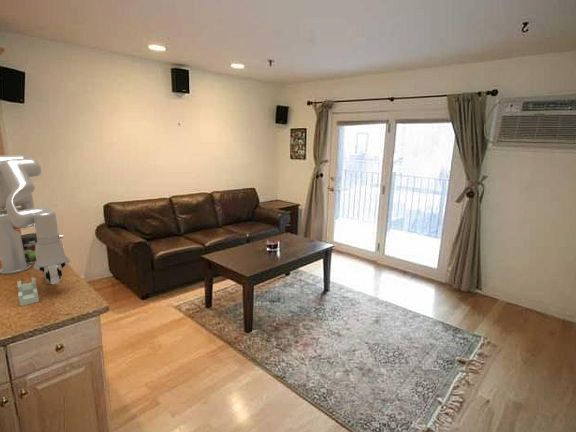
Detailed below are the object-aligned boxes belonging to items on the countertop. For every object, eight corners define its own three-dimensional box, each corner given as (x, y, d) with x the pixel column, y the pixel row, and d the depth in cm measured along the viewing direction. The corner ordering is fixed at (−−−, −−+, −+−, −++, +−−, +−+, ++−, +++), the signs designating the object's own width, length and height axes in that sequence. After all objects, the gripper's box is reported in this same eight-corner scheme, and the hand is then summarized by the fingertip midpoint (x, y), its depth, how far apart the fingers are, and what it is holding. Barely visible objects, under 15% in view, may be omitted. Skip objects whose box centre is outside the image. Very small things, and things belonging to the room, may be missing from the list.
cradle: (19, 290, 147) (17, 281, 146) (36, 286, 151) (34, 277, 150) (20, 306, 134) (18, 296, 133) (39, 301, 138) (37, 291, 137)
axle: (47, 267, 152) (46, 261, 150) (55, 265, 153) (54, 260, 152) (51, 284, 140) (50, 278, 139) (59, 282, 142) (59, 276, 141)
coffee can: (47, 260, 182) (43, 235, 178) (23, 265, 174) (19, 240, 171) (42, 255, 188) (38, 231, 185) (20, 260, 181) (15, 235, 177)
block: (44, 277, 161) (42, 262, 159) (59, 273, 165) (57, 259, 163) (46, 284, 153) (43, 269, 151) (62, 280, 157) (59, 266, 155)
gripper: (69, 234, 147) (74, 271, 152) (23, 240, 137) (30, 280, 142) (72, 238, 142) (77, 277, 146) (24, 245, 131) (31, 287, 136)
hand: (54, 278), depth 144 cm, fingers closed on axle, 3 cm apart
